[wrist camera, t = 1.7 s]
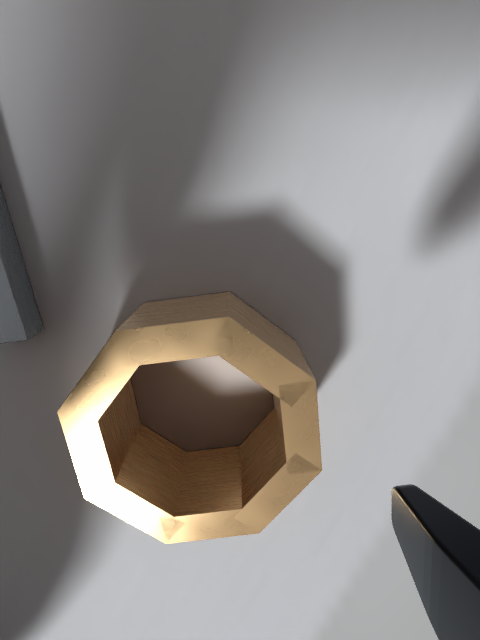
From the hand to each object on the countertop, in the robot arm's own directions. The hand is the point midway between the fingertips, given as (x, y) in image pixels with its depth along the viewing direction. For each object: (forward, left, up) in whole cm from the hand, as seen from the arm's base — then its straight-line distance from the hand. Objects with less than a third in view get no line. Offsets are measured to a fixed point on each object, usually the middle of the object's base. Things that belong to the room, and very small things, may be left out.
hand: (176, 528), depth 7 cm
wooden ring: (0, 0, -6) cm, 6 cm away
